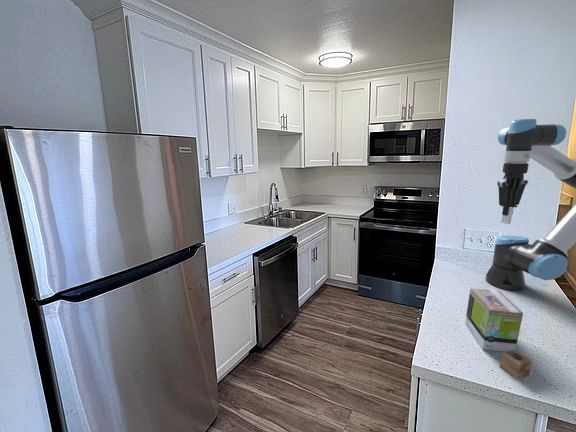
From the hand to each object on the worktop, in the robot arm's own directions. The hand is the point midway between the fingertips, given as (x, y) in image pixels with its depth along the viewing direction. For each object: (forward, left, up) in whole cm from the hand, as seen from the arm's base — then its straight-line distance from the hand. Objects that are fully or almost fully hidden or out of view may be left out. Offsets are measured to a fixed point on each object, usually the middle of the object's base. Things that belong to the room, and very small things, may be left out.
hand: (505, 222), depth 116 cm
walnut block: (+30, +31, -35) cm, 55 cm away
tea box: (+23, +17, -35) cm, 45 cm away
